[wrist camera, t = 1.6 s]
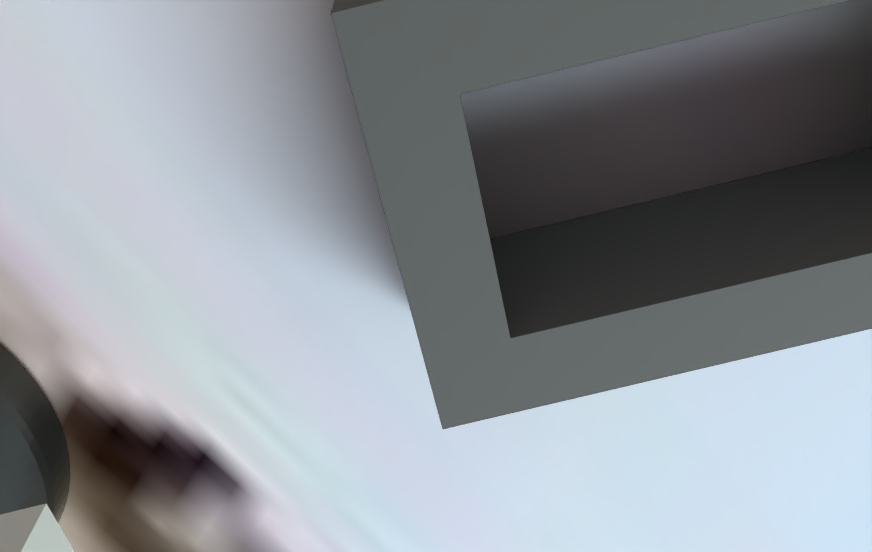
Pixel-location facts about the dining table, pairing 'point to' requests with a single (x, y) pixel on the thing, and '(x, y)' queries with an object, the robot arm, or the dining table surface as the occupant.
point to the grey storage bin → (591, 235)
